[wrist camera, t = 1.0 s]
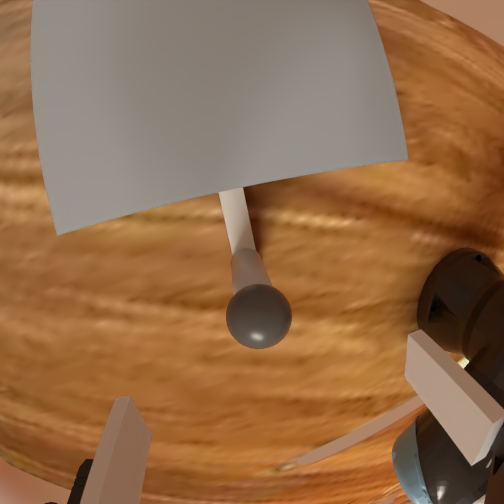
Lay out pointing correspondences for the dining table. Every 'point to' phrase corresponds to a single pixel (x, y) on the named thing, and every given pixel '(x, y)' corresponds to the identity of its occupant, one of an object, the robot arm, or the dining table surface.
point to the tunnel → (202, 98)
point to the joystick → (251, 283)
